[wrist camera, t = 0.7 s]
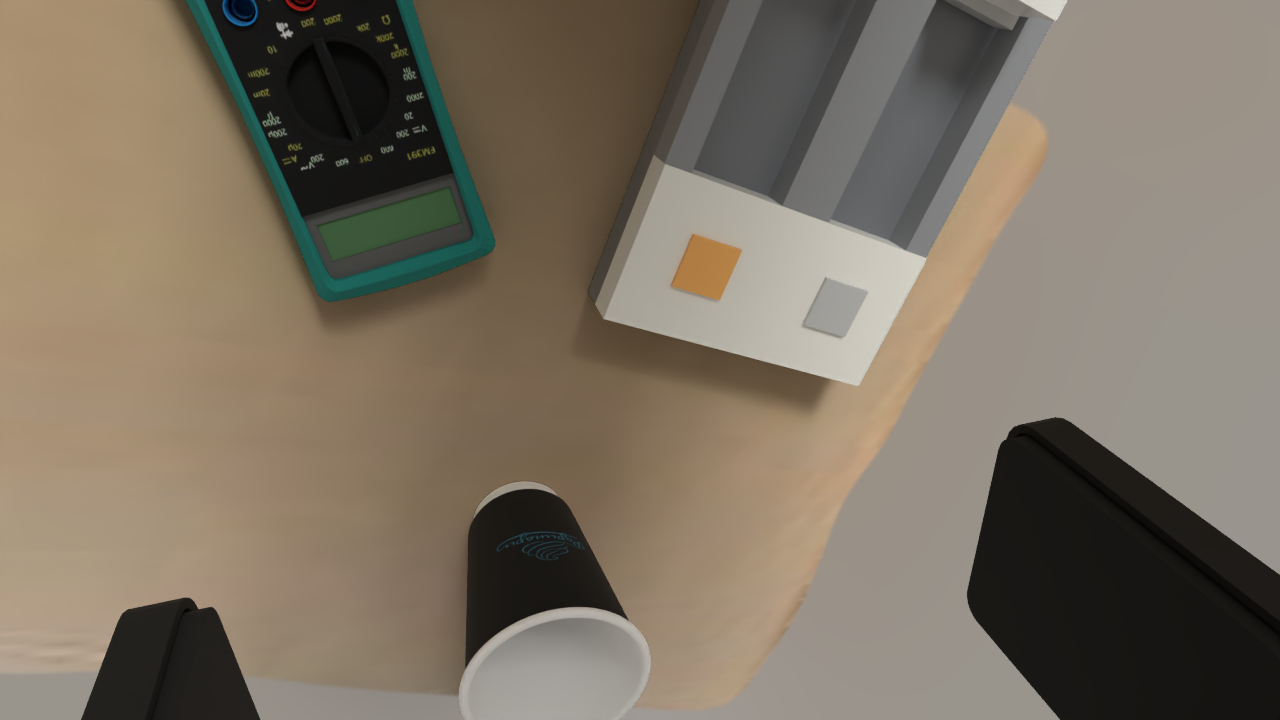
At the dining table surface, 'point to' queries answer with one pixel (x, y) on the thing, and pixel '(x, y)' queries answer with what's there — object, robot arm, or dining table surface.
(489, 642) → the dixie cup
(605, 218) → the dining table surface
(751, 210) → the switch panel
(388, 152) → the digital multimeter
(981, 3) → the tab white
